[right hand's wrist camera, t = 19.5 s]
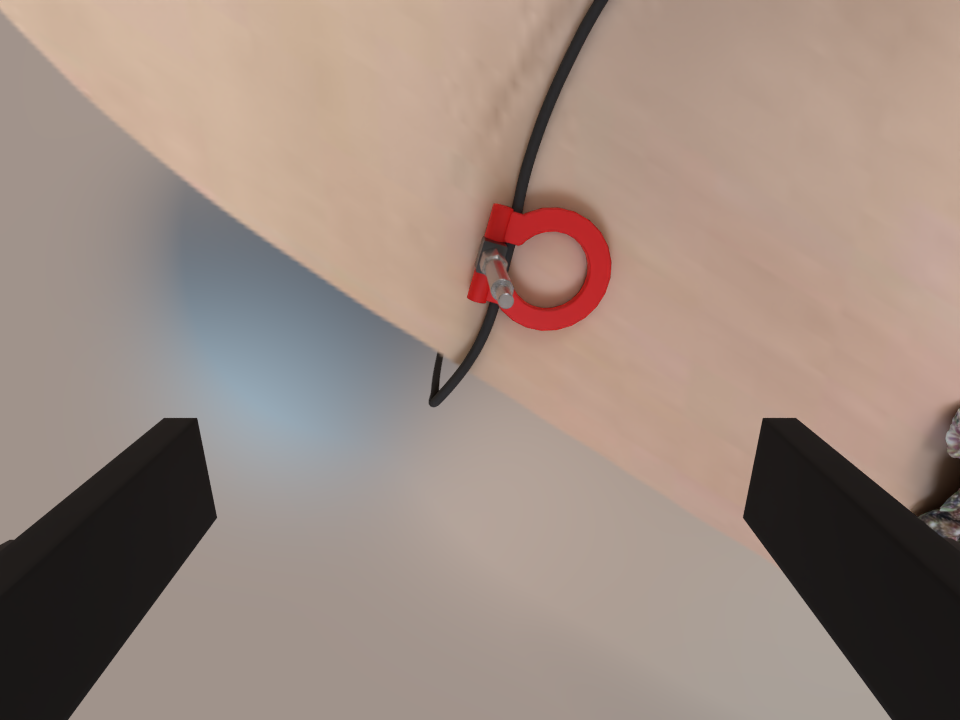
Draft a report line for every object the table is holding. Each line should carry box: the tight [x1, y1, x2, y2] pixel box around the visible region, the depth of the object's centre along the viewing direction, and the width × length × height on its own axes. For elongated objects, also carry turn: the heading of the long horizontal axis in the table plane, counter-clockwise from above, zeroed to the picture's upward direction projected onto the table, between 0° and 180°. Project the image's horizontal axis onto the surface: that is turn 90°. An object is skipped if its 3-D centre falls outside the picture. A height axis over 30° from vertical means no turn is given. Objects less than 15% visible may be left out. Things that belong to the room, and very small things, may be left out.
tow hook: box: [467, 203, 611, 331], centre depth 32 cm, size 8×13×9 cm
